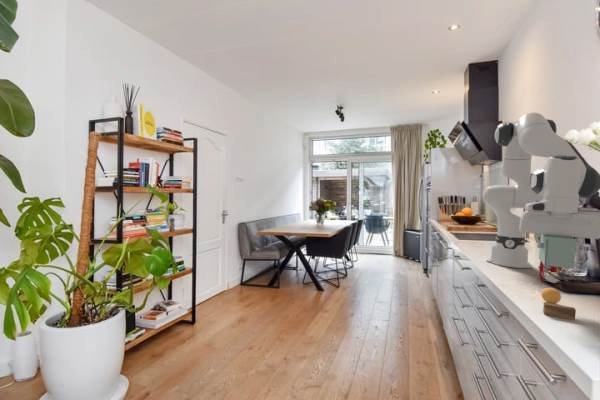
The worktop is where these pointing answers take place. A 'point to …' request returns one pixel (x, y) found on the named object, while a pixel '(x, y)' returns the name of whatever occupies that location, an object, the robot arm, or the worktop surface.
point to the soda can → (547, 268)
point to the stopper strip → (559, 311)
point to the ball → (551, 295)
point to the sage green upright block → (557, 251)
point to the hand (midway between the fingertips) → (556, 249)
